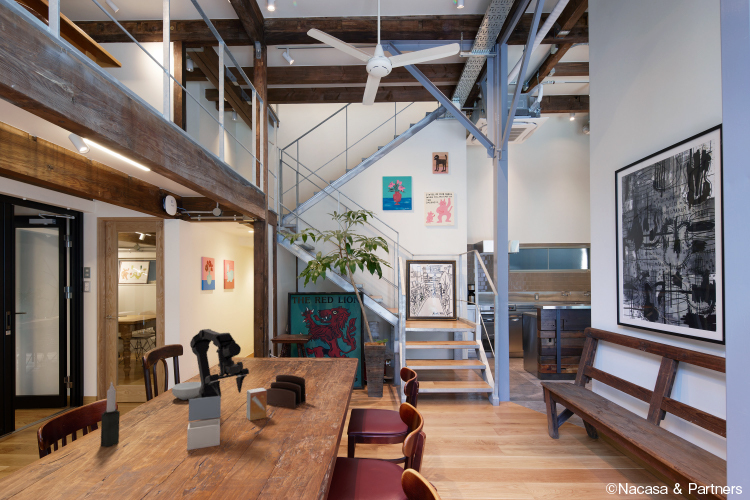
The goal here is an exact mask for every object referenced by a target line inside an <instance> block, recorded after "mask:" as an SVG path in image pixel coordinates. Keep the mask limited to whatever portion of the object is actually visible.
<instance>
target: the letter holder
mask: <svg viewBox="0 0 750 500" xmlns="http://www.w3.org/2000/svg"><path fill="white" fill-rule="evenodd" d="M265 390H267V405H273V406H278V407H285V408H292V409H296V408H299V407H300V406H302V405H304V404H306V402H307V399H306V398H307V397H306V392H307V391H306V378H304V377H302V376H298V375H291V374H276V375H275V381H272V382H271V383H270V388H265Z"/></svg>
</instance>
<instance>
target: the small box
mask: <svg viewBox="0 0 750 500" xmlns="http://www.w3.org/2000/svg"><path fill="white" fill-rule="evenodd" d="M267 405H268V404H267V390H266V388H264V387H258V388H252V389H247V390H246V418H247V419H248V420H249V421H255V420H260V419H266V418H267V408H268V407H267Z"/></svg>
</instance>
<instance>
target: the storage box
mask: <svg viewBox="0 0 750 500" xmlns="http://www.w3.org/2000/svg"><path fill="white" fill-rule="evenodd" d="M187 425H188V426H187V433H186V434H187V435H186V438H187V439H186V451H190V450H195V449H203V448H209V447H213V446H214V447H215V446H220V445H221V443H220V442H221V417H218V418H210V419H203V420H195V421H188V424H187Z"/></svg>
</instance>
